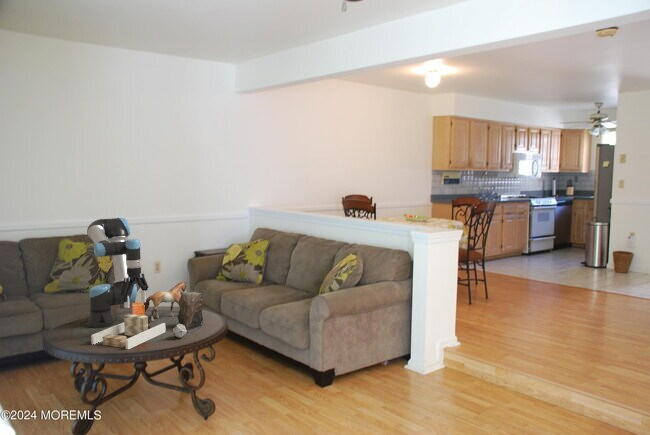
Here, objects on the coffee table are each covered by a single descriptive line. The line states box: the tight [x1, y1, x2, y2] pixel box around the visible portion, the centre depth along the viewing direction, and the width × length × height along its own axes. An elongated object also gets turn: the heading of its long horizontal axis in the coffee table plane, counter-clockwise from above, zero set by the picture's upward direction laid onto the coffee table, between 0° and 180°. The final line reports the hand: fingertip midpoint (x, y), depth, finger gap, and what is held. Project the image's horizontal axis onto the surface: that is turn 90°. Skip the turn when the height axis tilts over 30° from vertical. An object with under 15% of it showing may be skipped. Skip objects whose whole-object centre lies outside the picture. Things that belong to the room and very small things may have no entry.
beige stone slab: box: [123, 313, 149, 337], centre depth 301 cm, size 13×4×11 cm, turn 70°
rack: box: [90, 321, 167, 350], centre depth 297 cm, size 24×31×5 cm
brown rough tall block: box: [177, 291, 204, 331], centre depth 318 cm, size 13×13×20 cm
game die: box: [170, 321, 189, 340], centre depth 296 cm, size 9×8×10 cm
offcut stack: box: [101, 334, 128, 348], centre depth 286 cm, size 13×6×4 cm, turn 68°
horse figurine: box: [143, 281, 187, 322], centre depth 334 cm, size 31×8×21 cm, turn 128°
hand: (135, 304), depth 300 cm, fingers open, 13 cm apart
